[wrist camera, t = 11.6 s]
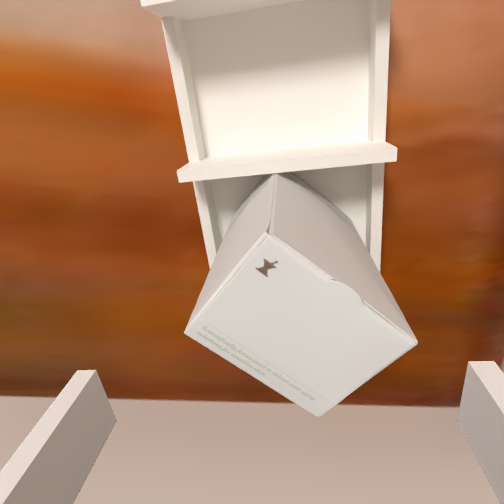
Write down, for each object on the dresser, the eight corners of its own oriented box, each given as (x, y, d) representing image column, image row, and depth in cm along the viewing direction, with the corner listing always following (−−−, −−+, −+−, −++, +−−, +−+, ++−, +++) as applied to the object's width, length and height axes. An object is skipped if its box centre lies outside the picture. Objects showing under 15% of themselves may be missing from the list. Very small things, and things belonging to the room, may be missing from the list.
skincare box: (230, 215, 29) (169, 331, 15) (280, 153, 26) (262, 222, 12) (305, 272, 30) (315, 427, 16) (359, 218, 28) (426, 348, 14)
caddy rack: (222, 281, 33) (208, 319, 27) (174, 13, 24) (137, -11, 18) (371, 274, 31) (388, 313, 25) (379, -24, 22) (408, -64, 16)
